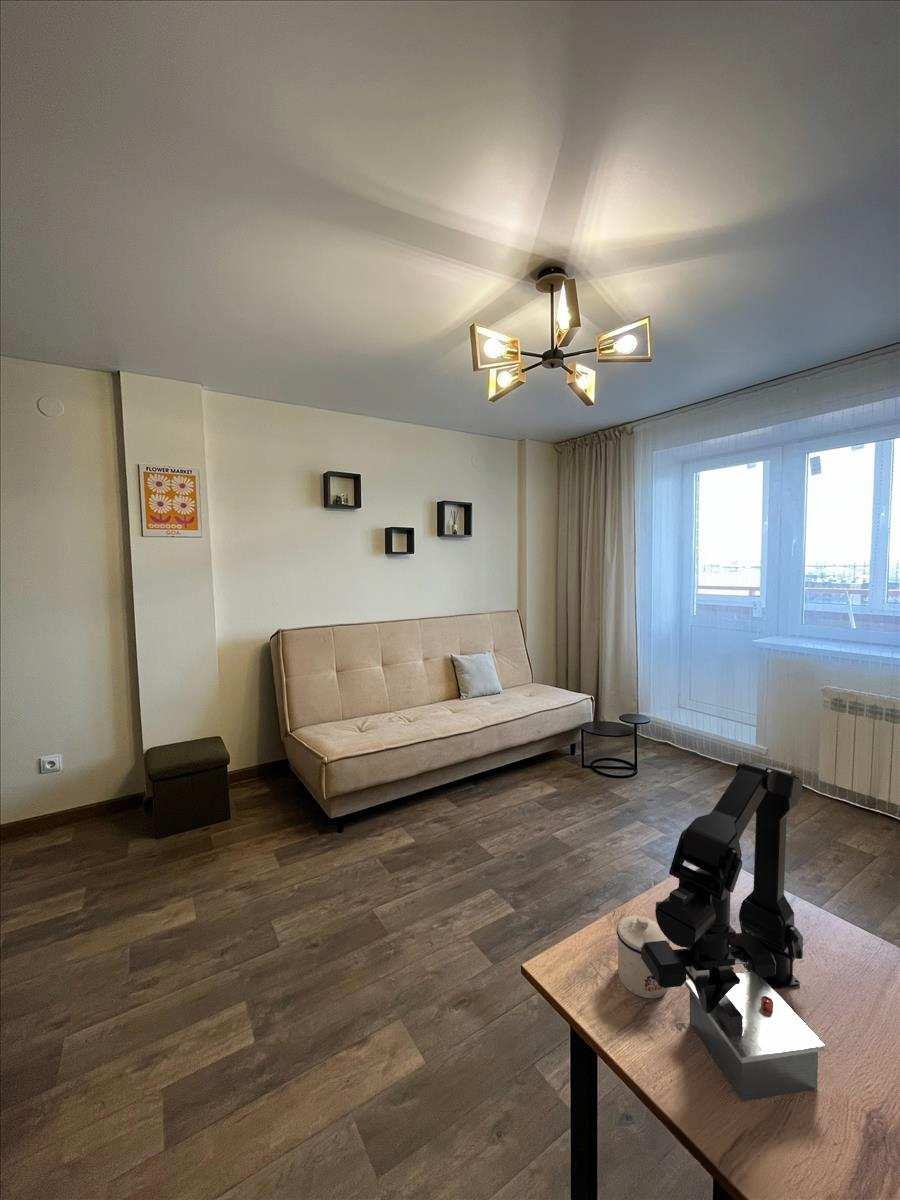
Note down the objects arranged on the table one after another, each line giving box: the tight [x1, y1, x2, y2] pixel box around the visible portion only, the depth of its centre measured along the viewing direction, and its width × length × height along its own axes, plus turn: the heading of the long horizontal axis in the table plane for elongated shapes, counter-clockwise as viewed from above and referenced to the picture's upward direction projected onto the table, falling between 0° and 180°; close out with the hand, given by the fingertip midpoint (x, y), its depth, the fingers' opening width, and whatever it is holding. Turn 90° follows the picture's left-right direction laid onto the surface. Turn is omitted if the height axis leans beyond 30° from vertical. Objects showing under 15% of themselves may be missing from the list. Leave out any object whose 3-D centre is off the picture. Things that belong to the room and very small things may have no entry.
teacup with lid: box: [616, 915, 670, 999], centre depth 89 cm, size 12×9×12 cm
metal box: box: [689, 991, 819, 1102], centre depth 74 cm, size 12×12×6 cm
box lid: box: [684, 971, 826, 1063], centre depth 74 cm, size 13×13×4 cm
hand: (706, 1010), depth 73 cm, fingers closed
